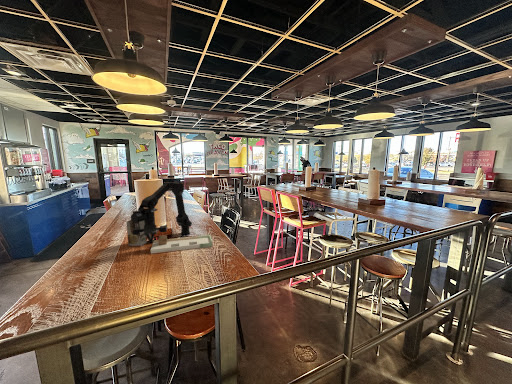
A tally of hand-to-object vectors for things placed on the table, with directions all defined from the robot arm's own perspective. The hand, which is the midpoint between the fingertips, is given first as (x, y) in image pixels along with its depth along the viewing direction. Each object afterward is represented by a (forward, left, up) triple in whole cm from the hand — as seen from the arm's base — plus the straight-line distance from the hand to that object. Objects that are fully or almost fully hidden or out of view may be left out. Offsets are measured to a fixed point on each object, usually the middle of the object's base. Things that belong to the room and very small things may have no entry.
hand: (151, 243), depth 131 cm
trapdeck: (+2, +19, -3) cm, 19 cm away
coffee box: (-11, -10, -4) cm, 15 cm away
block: (0, +7, -1) cm, 7 cm away
